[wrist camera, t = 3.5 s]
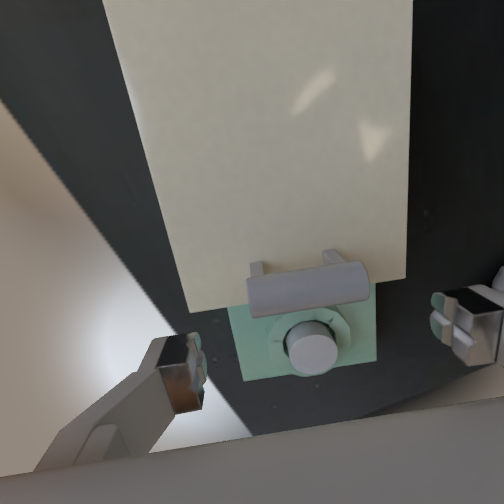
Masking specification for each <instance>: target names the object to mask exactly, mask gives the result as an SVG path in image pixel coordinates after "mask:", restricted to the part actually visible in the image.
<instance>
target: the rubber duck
mask: <svg viewBox="0 0 504 504" xmlns="http://www.w3.org/2000/svg"><path fill="white" fill-rule="evenodd" d="M491 289H493V290H495V291H496V292H498V293H500V294H502V295H504V266H502V267H501V268H500V269H499V272H498V273H497V275H496V276H495V278H494V280H493V282H492V288H491Z"/></svg>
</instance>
